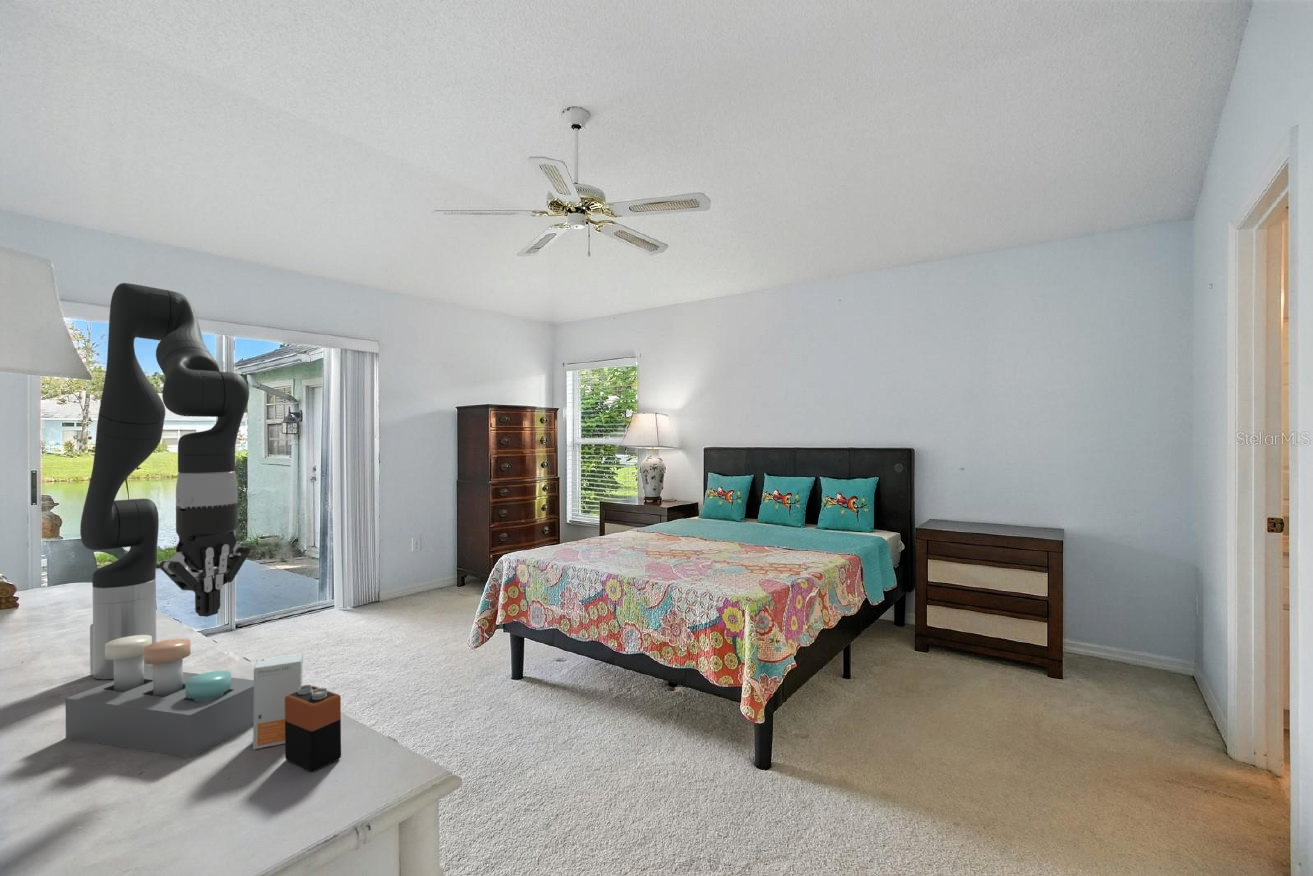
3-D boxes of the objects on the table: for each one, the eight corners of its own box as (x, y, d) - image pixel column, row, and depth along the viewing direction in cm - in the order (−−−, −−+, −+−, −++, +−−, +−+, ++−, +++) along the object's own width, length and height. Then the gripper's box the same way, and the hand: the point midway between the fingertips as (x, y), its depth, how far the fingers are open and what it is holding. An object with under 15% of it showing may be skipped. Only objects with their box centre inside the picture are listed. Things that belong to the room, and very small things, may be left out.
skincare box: (252, 751, 86) (252, 668, 86) (256, 738, 90) (256, 658, 90) (301, 741, 89) (301, 661, 89) (303, 729, 93) (303, 651, 93)
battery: (311, 774, 80) (311, 699, 80) (283, 760, 84) (283, 689, 84) (342, 759, 84) (342, 687, 84) (314, 746, 88) (314, 678, 88)
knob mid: (134, 698, 91) (134, 649, 91) (172, 683, 97) (172, 637, 97) (163, 702, 90) (162, 652, 90) (199, 687, 95) (199, 640, 95)
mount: (65, 738, 90) (65, 698, 90) (150, 703, 102) (149, 668, 102) (190, 757, 85) (190, 715, 85) (264, 718, 96) (264, 681, 96)
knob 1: (95, 693, 93) (95, 645, 93) (134, 679, 99) (134, 633, 99) (123, 697, 92) (122, 648, 92) (161, 682, 97) (160, 636, 97)
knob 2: (176, 733, 89) (175, 683, 89) (212, 716, 95) (211, 669, 95) (205, 738, 88) (205, 687, 88) (240, 720, 94) (240, 672, 94)
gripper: (228, 496, 99) (228, 601, 99) (142, 506, 86) (142, 626, 86) (265, 497, 97) (265, 604, 97) (182, 507, 84) (183, 631, 84)
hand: (207, 615), depth 91 cm, fingers closed
